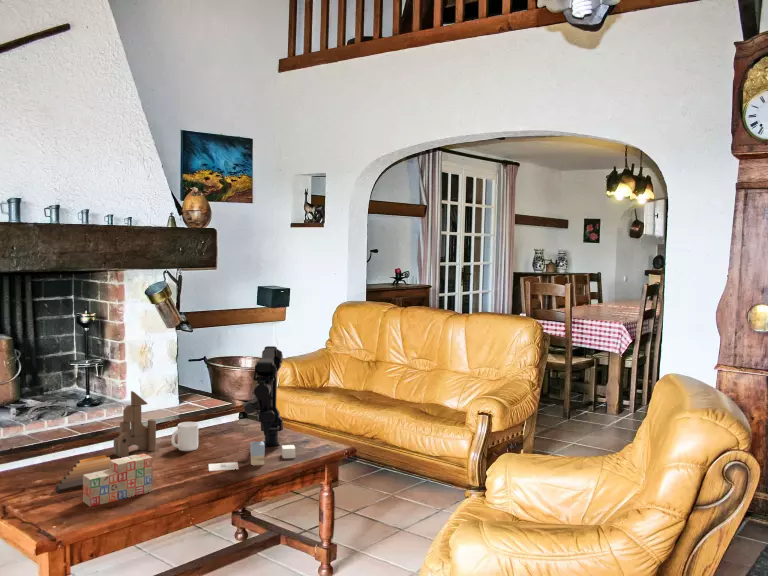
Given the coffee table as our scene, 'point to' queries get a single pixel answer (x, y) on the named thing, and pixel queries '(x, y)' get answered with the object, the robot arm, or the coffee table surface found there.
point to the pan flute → (82, 473)
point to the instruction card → (223, 466)
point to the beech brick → (257, 460)
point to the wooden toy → (135, 429)
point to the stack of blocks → (119, 480)
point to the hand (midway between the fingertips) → (264, 432)
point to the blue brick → (257, 448)
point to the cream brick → (288, 451)
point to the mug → (186, 436)
